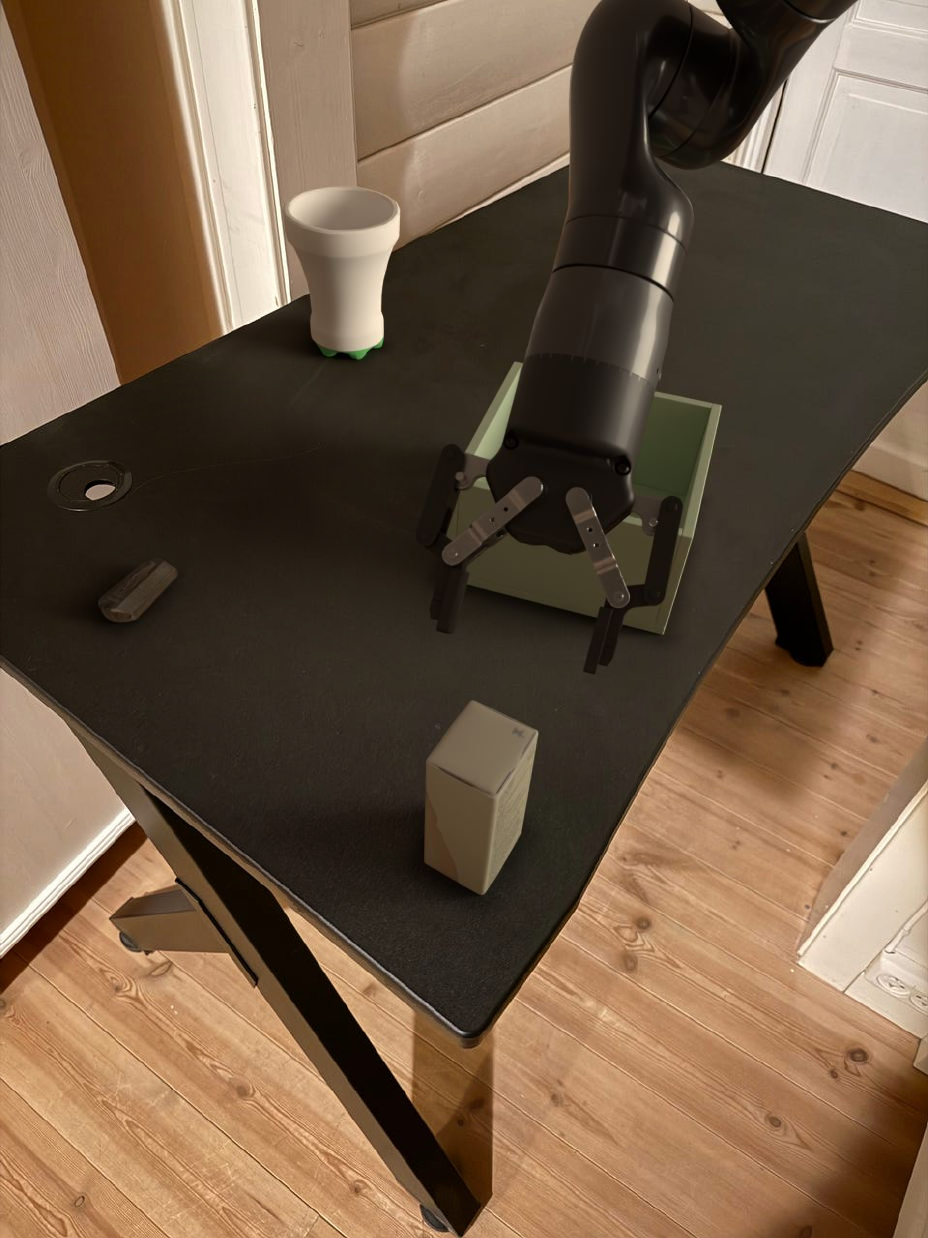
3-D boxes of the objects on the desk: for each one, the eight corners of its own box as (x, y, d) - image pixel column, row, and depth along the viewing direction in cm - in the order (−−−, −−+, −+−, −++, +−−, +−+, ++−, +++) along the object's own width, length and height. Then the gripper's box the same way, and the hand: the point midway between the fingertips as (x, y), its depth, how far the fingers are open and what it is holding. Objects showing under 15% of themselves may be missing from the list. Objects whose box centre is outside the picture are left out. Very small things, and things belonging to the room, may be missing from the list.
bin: (694, 499, 81) (722, 404, 74) (663, 635, 69) (692, 538, 62) (504, 456, 84) (514, 361, 77) (444, 579, 72) (448, 480, 65)
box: (464, 802, 58) (474, 693, 50) (523, 834, 56) (543, 727, 48) (419, 866, 55) (423, 760, 47) (482, 901, 53) (496, 798, 45)
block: (182, 581, 70) (178, 564, 69) (130, 631, 67) (124, 614, 65) (145, 566, 71) (141, 548, 70) (91, 613, 68) (85, 596, 66)
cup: (421, 340, 98) (424, 206, 87) (353, 383, 91) (347, 243, 81) (342, 307, 102) (336, 175, 92) (272, 345, 95) (257, 208, 85)
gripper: (456, 324, 48) (380, 620, 49) (725, 380, 45) (641, 691, 46) (479, 365, 55) (413, 621, 56) (711, 414, 53) (639, 682, 53)
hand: (516, 652), depth 51 cm, fingers open, 8 cm apart
